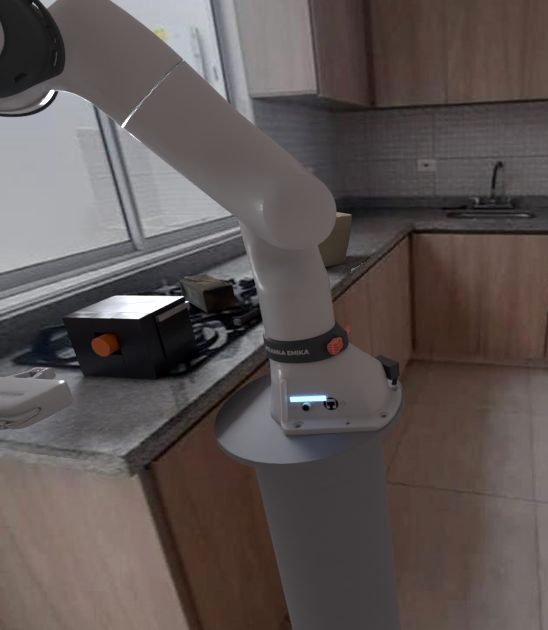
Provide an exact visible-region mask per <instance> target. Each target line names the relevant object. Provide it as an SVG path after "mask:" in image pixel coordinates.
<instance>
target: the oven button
mask: <svg viewBox="0 0 548 630" xmlns="http://www.w3.org/2000/svg"><path fill="white" fill-rule="evenodd" d="M92 348H93V350H94V351H95V352H96V353H97V354H98V355H100V356H108V355H110V354H112V353H113V352H115V351H117V350H119V349H120V347H119V344H118V341H117V338H116V335H115V333H105V334H103V335H101V336H99V337H97V338H95V339H94V340H93V341H92Z"/></svg>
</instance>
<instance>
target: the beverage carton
mask: <svg viewBox="0 0 548 630" xmlns="http://www.w3.org/2000/svg"><path fill="white" fill-rule="evenodd" d="M178 283H179V288H180V291H181V296H184V297H185V301H189V304H190V305H193V306H195V307H197V308H198V309H200V310H202V311H204V312H205V313H207V314H210V313H214V312H218V311H221V310H226V309H229V308H233V307H236V306H237V302H236V296H235V290H234V286H233V284H230V283H228V282H225V281H223V280H220V279H217V278H215V277H214V276H210V275H209V274H207V273H205V274H199V275H194V276H190V275H189V276H188V275H187V276H184V278H183V277H182V278H180V279H179V280H178Z"/></svg>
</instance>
